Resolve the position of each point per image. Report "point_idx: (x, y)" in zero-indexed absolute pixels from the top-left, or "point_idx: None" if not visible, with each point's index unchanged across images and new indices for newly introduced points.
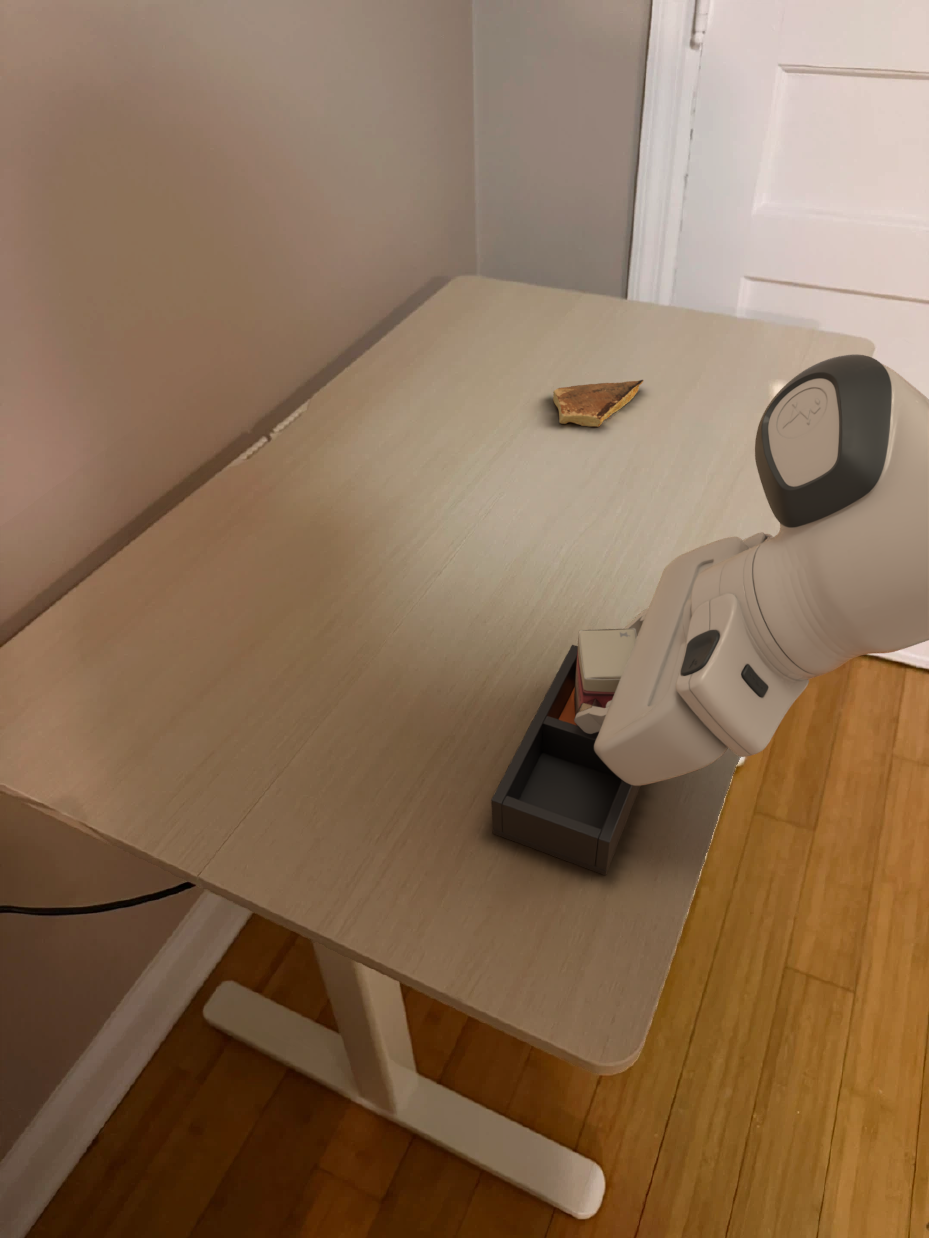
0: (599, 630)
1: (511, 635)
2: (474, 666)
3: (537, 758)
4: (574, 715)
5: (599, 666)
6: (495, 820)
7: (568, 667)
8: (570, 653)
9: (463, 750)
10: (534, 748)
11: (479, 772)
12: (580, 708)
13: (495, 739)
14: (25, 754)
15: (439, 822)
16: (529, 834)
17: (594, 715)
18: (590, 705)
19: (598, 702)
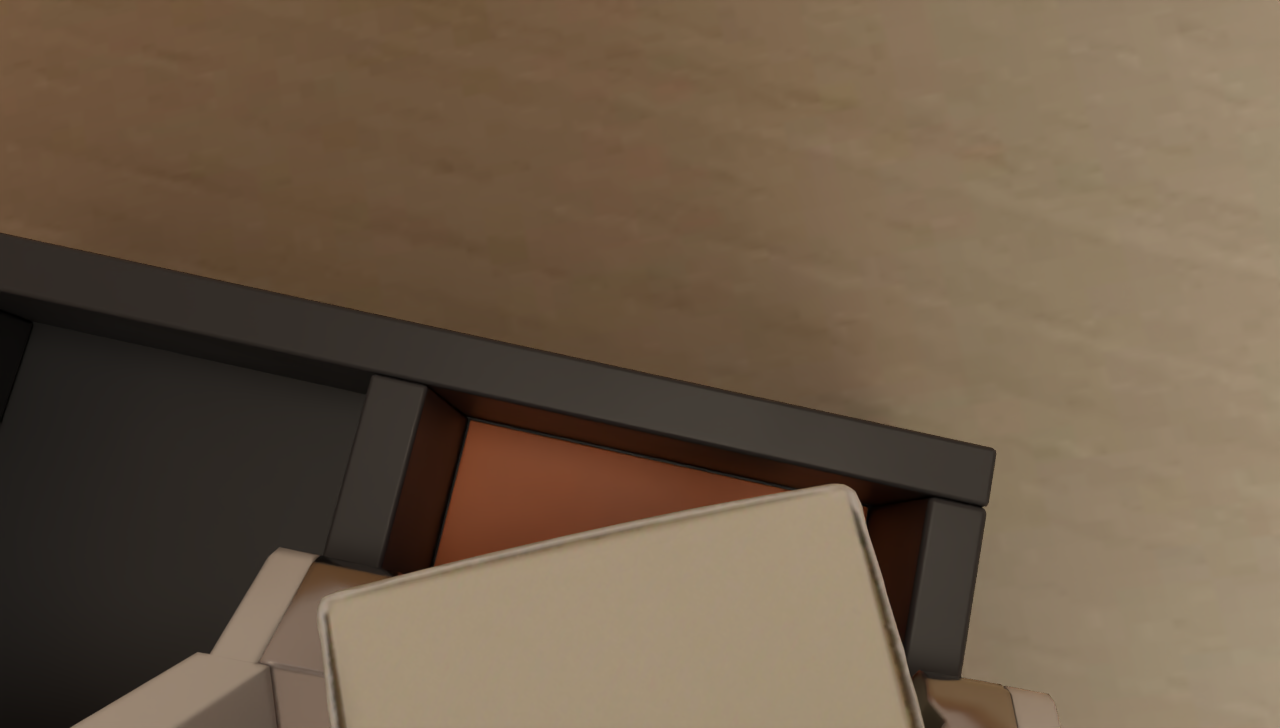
0: (888, 657)
1: (1129, 160)
2: (895, 37)
3: (363, 391)
4: None
5: (452, 708)
6: None
7: (806, 454)
8: (922, 450)
9: (421, 87)
10: (283, 361)
11: (318, 172)
12: (337, 577)
13: (499, 203)
14: None
15: (61, 72)
16: None
17: (118, 700)
18: (290, 649)
19: None
